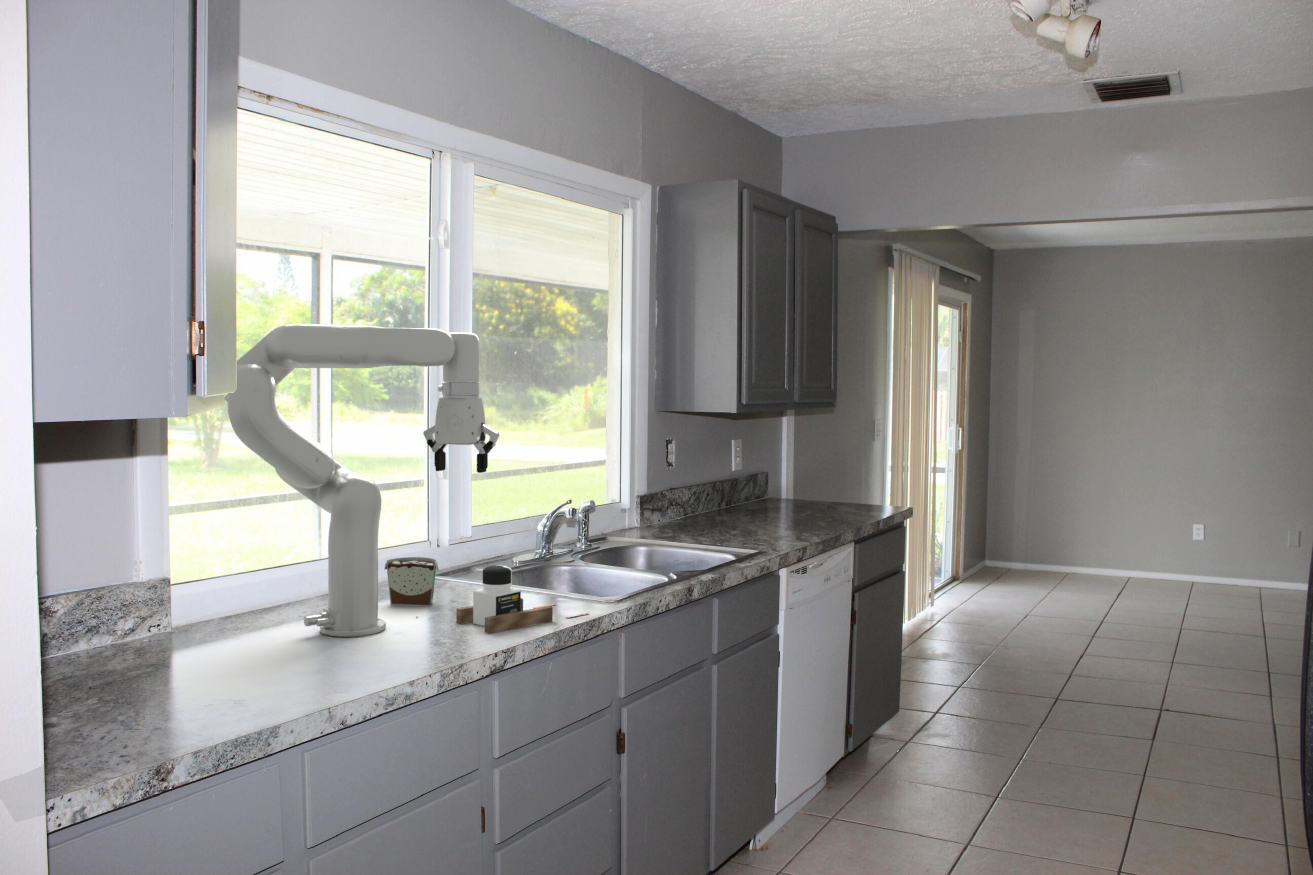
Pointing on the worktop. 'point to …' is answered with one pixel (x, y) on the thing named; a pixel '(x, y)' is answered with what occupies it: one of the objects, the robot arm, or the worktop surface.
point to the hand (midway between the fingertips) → (460, 471)
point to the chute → (508, 618)
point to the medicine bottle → (495, 594)
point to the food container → (411, 580)
